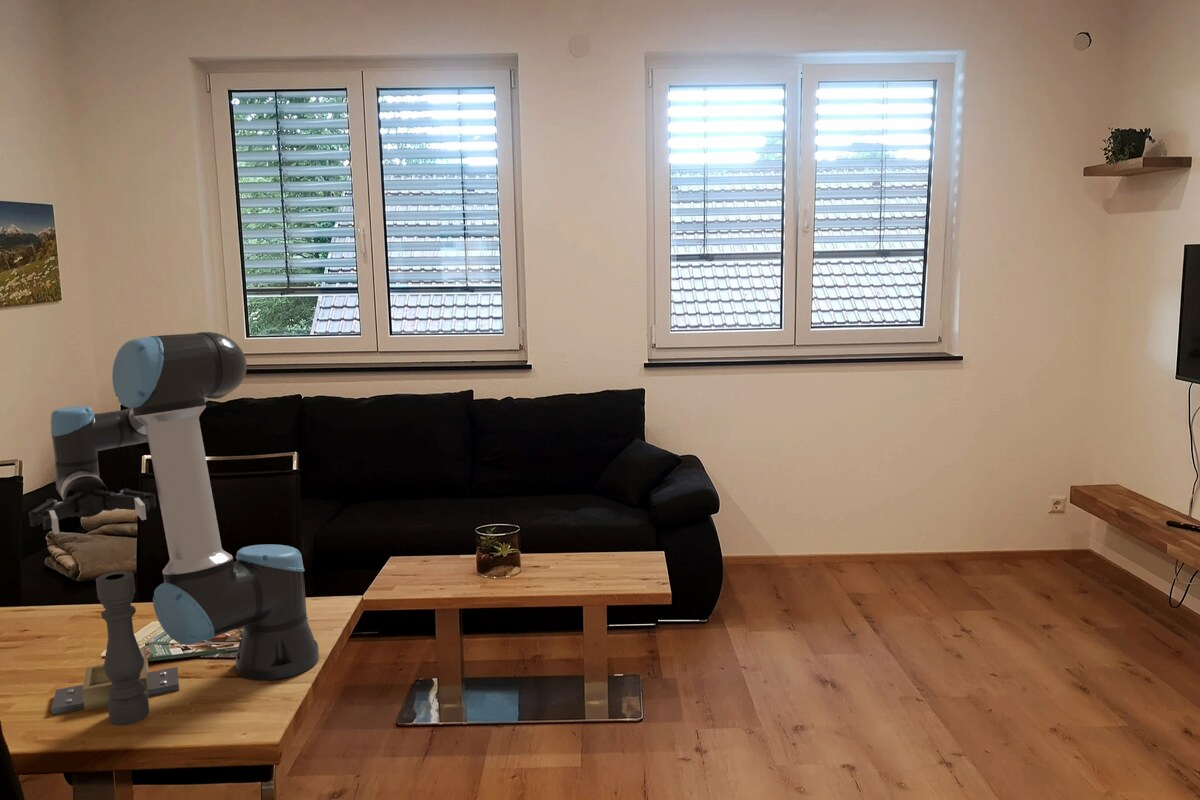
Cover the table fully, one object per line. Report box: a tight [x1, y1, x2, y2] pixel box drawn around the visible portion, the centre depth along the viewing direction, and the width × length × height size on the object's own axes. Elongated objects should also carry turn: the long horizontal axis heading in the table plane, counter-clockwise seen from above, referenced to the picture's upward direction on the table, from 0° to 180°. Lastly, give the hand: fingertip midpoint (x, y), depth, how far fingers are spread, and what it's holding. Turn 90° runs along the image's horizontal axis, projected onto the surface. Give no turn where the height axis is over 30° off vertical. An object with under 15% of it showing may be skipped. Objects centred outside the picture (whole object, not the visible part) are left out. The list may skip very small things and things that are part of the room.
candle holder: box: [95, 570, 151, 726], centre depth 157 cm, size 6×6×25 cm
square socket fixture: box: [51, 655, 180, 716], centre depth 167 cm, size 20×10×4 cm, turn 115°
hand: (100, 519), depth 162 cm, fingers open, 13 cm apart
